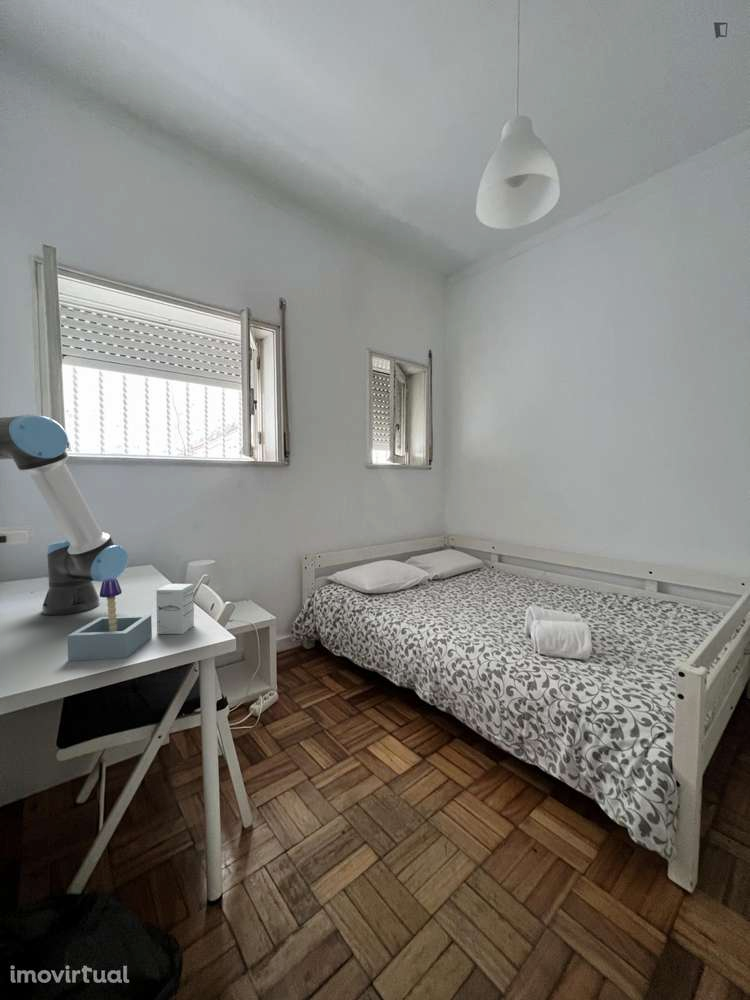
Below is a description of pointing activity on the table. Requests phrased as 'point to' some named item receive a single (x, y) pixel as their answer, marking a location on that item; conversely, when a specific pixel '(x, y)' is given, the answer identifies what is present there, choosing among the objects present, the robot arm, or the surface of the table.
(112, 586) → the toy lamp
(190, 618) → the supplement box
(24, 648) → the table surface
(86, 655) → the blue-gray open box
